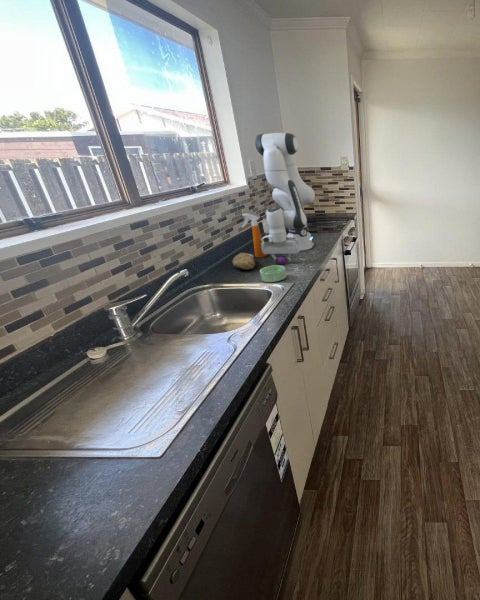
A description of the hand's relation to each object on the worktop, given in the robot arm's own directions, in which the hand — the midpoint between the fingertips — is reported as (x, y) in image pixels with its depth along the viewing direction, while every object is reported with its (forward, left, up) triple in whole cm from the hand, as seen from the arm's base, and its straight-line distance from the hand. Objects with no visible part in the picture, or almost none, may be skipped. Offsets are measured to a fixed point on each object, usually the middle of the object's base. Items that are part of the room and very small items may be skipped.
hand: (282, 261), depth 187 cm
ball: (0, 0, +1) cm, 1 cm away
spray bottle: (-25, -4, -2) cm, 25 cm away
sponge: (-11, -17, -2) cm, 20 cm away
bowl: (+18, -14, -2) cm, 23 cm away
